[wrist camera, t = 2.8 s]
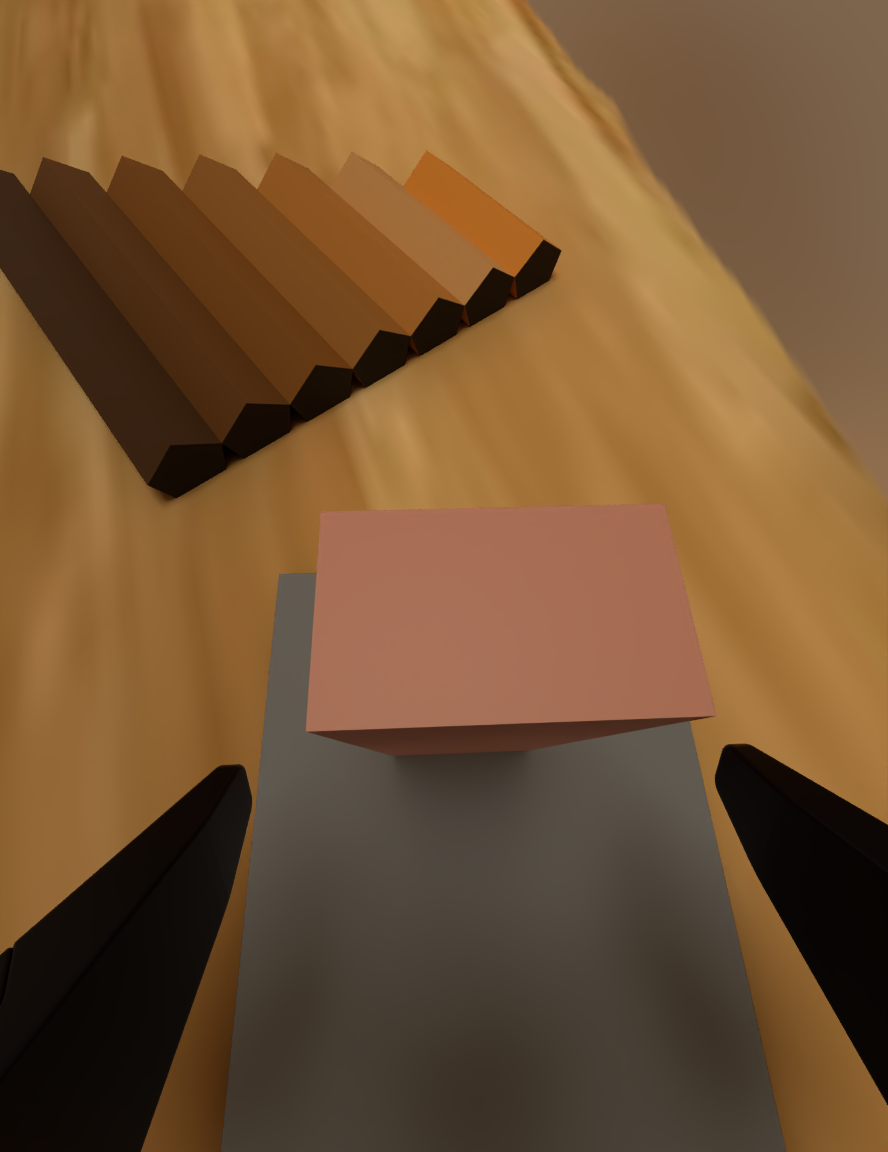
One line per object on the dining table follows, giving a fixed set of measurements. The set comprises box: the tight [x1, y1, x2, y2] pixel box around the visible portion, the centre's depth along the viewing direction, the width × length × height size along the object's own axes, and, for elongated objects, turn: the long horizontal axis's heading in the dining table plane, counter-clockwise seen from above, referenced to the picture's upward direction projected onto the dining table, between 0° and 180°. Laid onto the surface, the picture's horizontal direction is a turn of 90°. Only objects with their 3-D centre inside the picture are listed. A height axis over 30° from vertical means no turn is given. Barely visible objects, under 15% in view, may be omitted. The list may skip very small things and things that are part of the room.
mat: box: [221, 573, 786, 1152], centre depth 17 cm, size 20×16×1 cm
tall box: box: [306, 504, 717, 756], centre depth 12 cm, size 3×5×12 cm, turn 92°
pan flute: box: [0, 151, 561, 498], centre depth 27 cm, size 25×3×25 cm
